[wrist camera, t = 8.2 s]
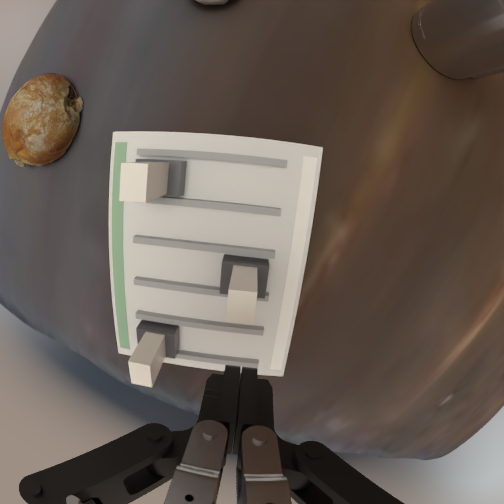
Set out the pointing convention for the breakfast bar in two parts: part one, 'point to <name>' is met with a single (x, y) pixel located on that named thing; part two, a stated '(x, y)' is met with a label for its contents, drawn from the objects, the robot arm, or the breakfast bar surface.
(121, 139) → the panel
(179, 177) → the breaker
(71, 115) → the bread roll
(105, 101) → the breakfast bar surface
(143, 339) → the breaker
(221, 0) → the salt shaker
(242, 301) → the breaker
